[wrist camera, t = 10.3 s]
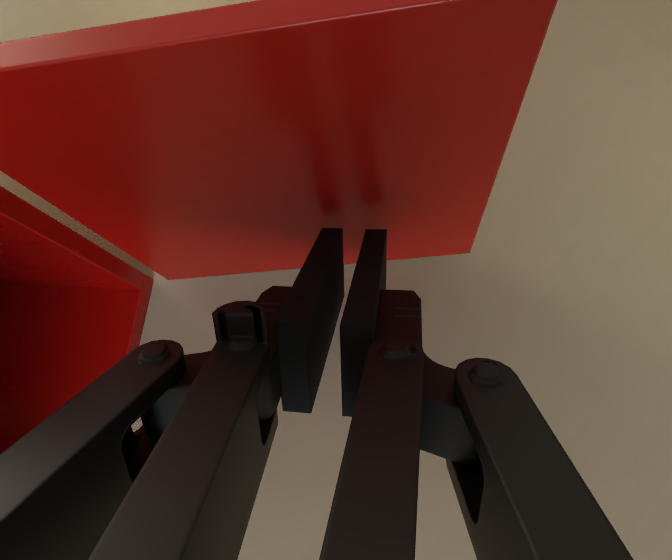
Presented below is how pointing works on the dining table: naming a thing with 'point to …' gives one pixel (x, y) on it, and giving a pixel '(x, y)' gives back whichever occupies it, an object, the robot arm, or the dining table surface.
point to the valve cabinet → (58, 314)
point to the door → (272, 126)
